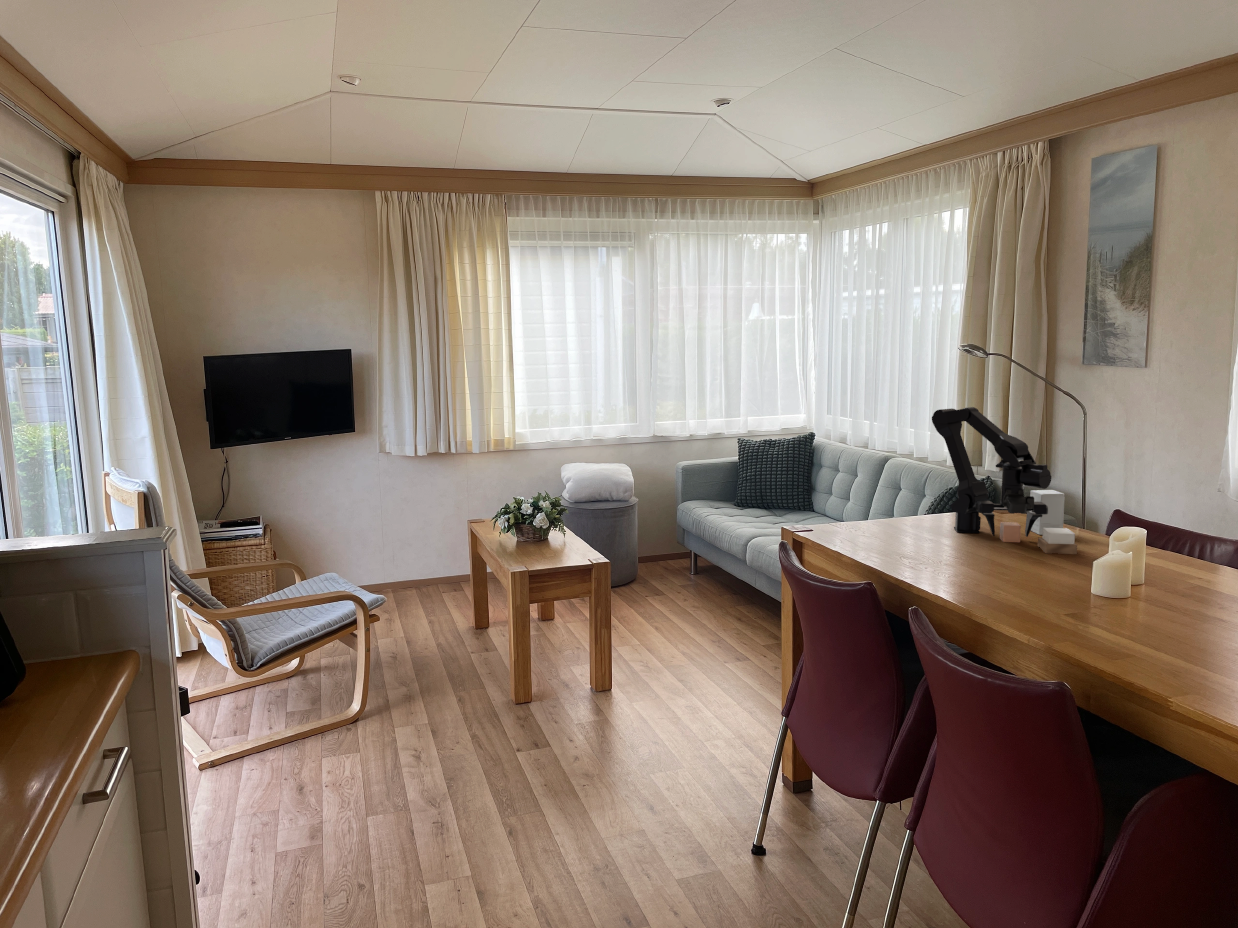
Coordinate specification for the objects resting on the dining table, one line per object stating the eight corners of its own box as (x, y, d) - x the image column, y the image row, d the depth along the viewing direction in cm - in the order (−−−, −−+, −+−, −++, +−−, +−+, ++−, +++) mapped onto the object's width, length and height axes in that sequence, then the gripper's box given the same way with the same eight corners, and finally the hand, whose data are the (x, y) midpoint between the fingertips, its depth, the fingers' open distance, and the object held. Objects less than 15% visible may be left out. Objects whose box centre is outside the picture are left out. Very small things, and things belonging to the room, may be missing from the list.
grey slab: (1048, 543, 239) (1049, 533, 238) (1042, 537, 245) (1042, 527, 245) (1074, 544, 238) (1074, 533, 237) (1066, 538, 244) (1067, 528, 243)
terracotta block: (1003, 542, 252) (1004, 525, 252) (999, 538, 257) (1000, 522, 256) (1020, 542, 252) (1020, 525, 251) (1016, 538, 256) (1016, 522, 255)
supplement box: (1063, 534, 260) (1065, 493, 258) (1038, 535, 260) (1040, 494, 258) (1051, 529, 267) (1054, 489, 265) (1027, 529, 267) (1029, 489, 265)
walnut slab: (1045, 554, 239) (1046, 544, 238) (1037, 547, 246) (1038, 537, 246) (1076, 555, 237) (1077, 544, 237) (1067, 548, 245) (1068, 538, 244)
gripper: (984, 488, 246) (982, 541, 248) (1055, 489, 242) (1051, 543, 244) (976, 481, 257) (974, 532, 259) (1043, 482, 253) (1040, 534, 255)
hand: (1009, 536), depth 254 cm, fingers open, 9 cm apart
